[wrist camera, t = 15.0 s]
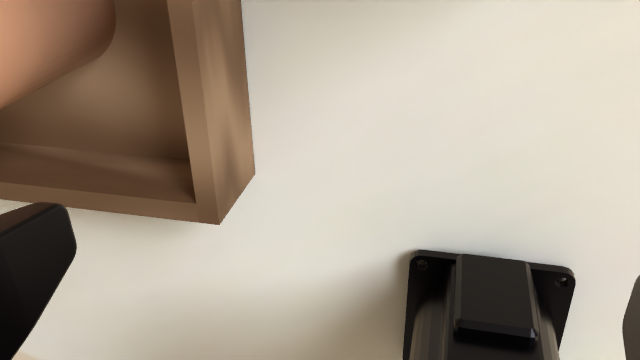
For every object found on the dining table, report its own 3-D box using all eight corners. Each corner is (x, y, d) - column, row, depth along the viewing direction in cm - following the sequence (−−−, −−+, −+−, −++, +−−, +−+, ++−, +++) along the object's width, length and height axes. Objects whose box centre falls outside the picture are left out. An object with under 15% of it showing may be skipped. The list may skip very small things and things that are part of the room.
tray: (255, 173, 24) (219, 224, 21) (-26, 146, 27) (-97, 187, 24) (221, -231, 17) (159, -254, 14) (-149, -210, 20) (-274, -224, 17)
